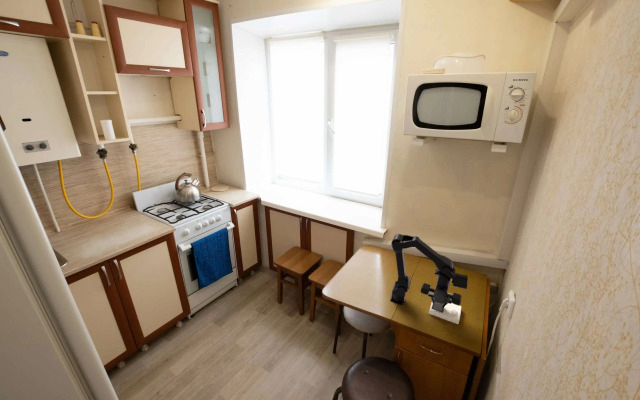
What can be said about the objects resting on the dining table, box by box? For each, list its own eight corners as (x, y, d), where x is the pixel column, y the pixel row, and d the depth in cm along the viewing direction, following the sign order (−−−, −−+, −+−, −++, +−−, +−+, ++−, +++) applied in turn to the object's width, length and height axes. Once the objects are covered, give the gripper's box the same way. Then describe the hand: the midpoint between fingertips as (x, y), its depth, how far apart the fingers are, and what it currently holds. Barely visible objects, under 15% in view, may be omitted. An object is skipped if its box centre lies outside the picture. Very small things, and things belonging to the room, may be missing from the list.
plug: (432, 310, 144) (435, 298, 141) (434, 305, 147) (436, 293, 144) (441, 313, 142) (443, 300, 139) (442, 308, 145) (444, 296, 142)
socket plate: (428, 313, 143) (429, 308, 142) (432, 300, 152) (433, 295, 151) (458, 324, 137) (459, 319, 136) (460, 310, 146) (461, 305, 144)
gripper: (420, 285, 136) (416, 309, 142) (462, 298, 127) (455, 324, 133) (425, 273, 145) (420, 296, 151) (464, 285, 136) (458, 309, 142)
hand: (438, 306), depth 144 cm, fingers closed on plug, 4 cm apart
